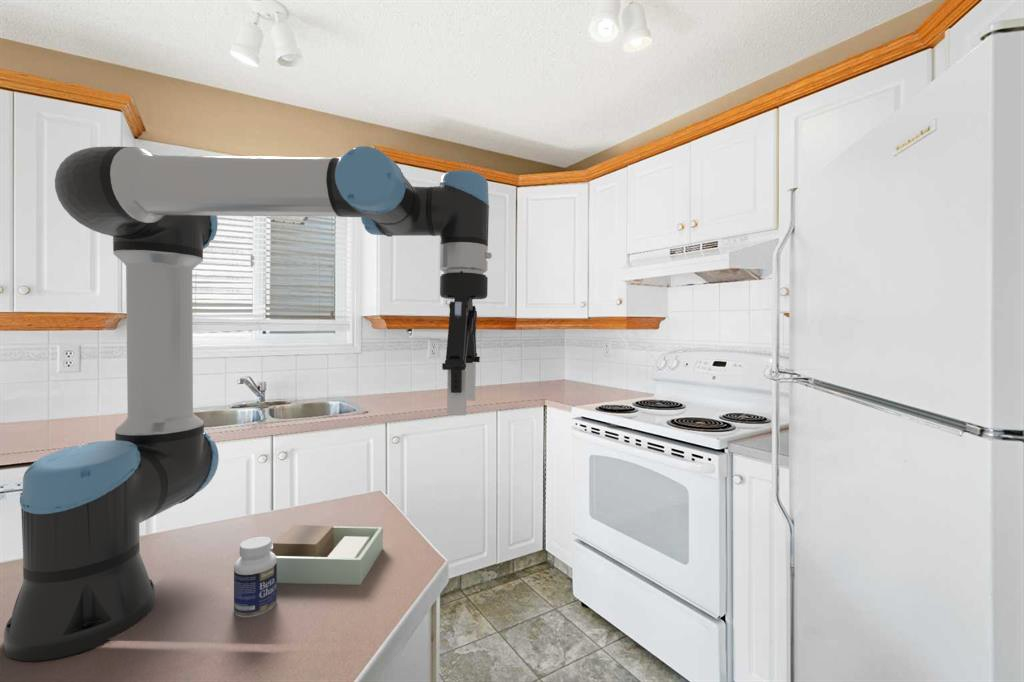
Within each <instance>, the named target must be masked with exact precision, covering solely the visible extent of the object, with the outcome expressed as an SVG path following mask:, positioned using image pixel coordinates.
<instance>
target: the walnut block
mask: <svg viewBox="0 0 1024 682" xmlns="http://www.w3.org/2000/svg"><path fill="white" fill-rule="evenodd" d="M333 526H334V525H307V524H306V525H303V524H302V525H301V524H300V525H299V524H293V525H292V526H291V527H289V528H288V530H286V531H285V532H284V533H283V534H282V535H280V537H279V538H277V539H276V540H274V542H273V543H272V545H273V553H274V554H275V555H276V556H298V557H328V555H329V554H330V553H331V552H332V551H333Z"/></svg>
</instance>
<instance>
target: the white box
mask: <svg viewBox="0 0 1024 682" xmlns="http://www.w3.org/2000/svg"><path fill="white" fill-rule="evenodd" d="M368 543H369V537H355V536H344V538H343V539H342V540H341V541H340V542H339V543H338V545H337V546H336V547H335V548H334V549H333V551H332V552H331V553H330V554H329V555H328V557H341V558H358V557H359V556H360V554H361V553H362V551H363V550H364V549H365V547H366V546H367V544H368Z"/></svg>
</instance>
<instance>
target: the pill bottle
mask: <svg viewBox="0 0 1024 682" xmlns="http://www.w3.org/2000/svg"><path fill="white" fill-rule="evenodd" d="M272 545H273V543H272V539H271V538H270V537H268V536H256V537H251V538H248V539H245V540H243V541H242V542H241V543H240V544H239V556H240V557H239V558H238V559H237V560H236V561H235V563H234V566H233V612H234V615H236V616H238V617H241V618H251V617H257V616H260V615H263V614H265V613H266V612H269V611H270V610H272V609H273V608H274V607H275V605H276V604H277V597H278V596H277V594H278V593H277V591H278V588H277V587H278V585H277V584H278V583H277V558H276V555H275V554H274V553H273V552H271V547H272Z"/></svg>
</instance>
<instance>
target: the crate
mask: <svg viewBox="0 0 1024 682" xmlns="http://www.w3.org/2000/svg"><path fill="white" fill-rule="evenodd" d="M332 526H333V549H334V548H335V547H336V546H337V545H338V543H339V542H340V541H341V540H342V539H343V538H344V536H355V537H369V543H368V544H367V546H366V547H365V549H364V550H363V551H362V553H361V554H360V556H359V557H358V558H341V557H298V556H276V558H277V584H302V585H303V584H305V585H307V584H308V585H310V584H312V585H345V586H346V585H347V586H350V585H353V586H361V584H362V583H363V581H364V580H365V578H366V576H367V575H368V573H369V572H370V570H371V568H372V567H373V565H374V564H375V562H376V560H377V559H378V557H379V556H380V554H381V552H382V551H383V549H384V548H383V547H384V546H383V544H384V540H383V539H384V528H383V527H382V526H351V525H350V526H349V525H348V526H347V525H346V526H345V525H343V526H342V525H339V526H338V525H337V526H336V525H332ZM271 552H273V544H272V547H271Z"/></svg>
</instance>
